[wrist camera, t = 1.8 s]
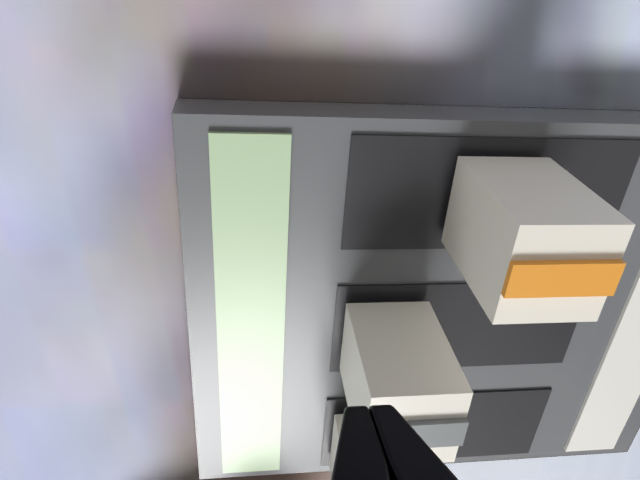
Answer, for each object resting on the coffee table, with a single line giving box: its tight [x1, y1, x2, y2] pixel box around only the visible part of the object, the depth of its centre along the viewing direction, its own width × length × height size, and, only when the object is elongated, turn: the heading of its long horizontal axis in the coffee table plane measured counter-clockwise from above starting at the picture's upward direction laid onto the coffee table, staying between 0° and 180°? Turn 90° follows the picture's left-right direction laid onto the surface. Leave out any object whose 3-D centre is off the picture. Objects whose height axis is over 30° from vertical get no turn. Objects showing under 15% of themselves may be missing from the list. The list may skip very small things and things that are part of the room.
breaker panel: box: [172, 99, 640, 479], centre depth 21 cm, size 20×16×2 cm
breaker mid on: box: [339, 301, 473, 463], centre depth 18 cm, size 3×3×5 cm
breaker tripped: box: [441, 156, 635, 325], centre depth 16 cm, size 3×3×5 cm
